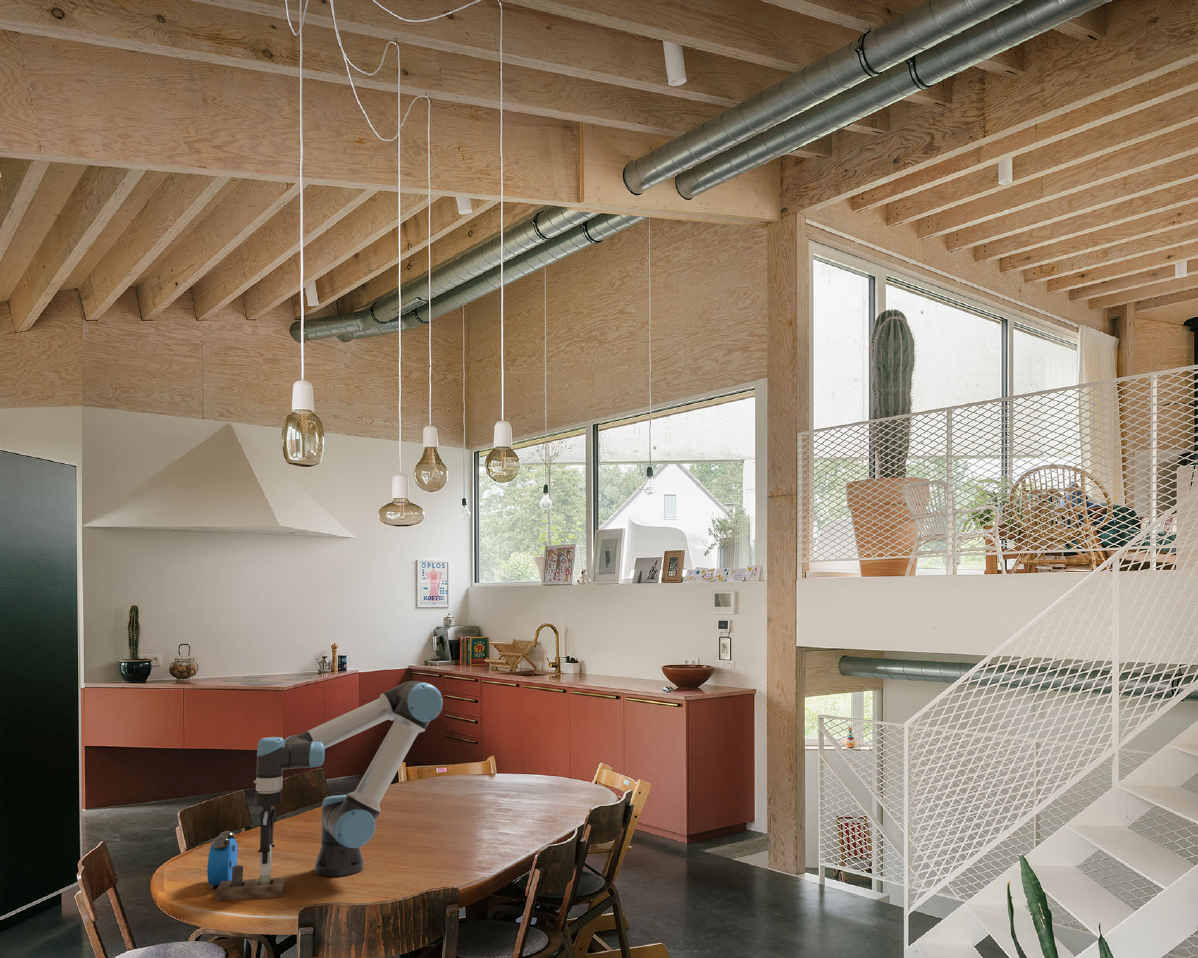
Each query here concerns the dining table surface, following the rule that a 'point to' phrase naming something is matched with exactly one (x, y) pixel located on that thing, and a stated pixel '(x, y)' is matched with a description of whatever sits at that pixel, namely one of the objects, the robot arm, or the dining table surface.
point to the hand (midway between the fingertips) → (265, 872)
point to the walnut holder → (248, 887)
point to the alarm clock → (222, 858)
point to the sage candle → (265, 878)
